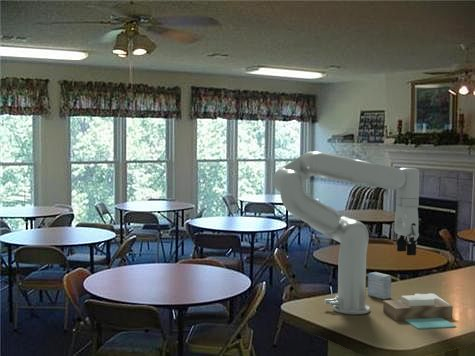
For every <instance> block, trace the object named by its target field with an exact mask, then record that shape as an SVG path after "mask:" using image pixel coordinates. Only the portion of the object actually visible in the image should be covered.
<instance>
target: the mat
mask: <svg viewBox="0 0 475 356" xmlns="http://www.w3.org/2000/svg"><path fill="white" fill-rule="evenodd" d="M404 322H406V323H408V324H409V325H411V326H412V327H414V328H415V329H417V330H427V329H445V328H446V329H448V328H457V325H455V324H453V323H451V322H450V321H448V319H447V320H446V318H423V319H405V320H404Z"/></svg>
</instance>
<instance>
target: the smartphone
mask: <svg viewBox="0 0 475 356" xmlns="http://www.w3.org/2000/svg"><path fill="white" fill-rule="evenodd" d="M413 295H427V296H429V297H431V298H433V299H437V298H438V299H440V300H441V301H443V302H445V303H447V304H449V305H451V304H450V303H448V301H445V300H444V299H443V298H442V297H441V296H438V295H437V294H436V293H431V292H430V293H429V292H428V293H413Z"/></svg>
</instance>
